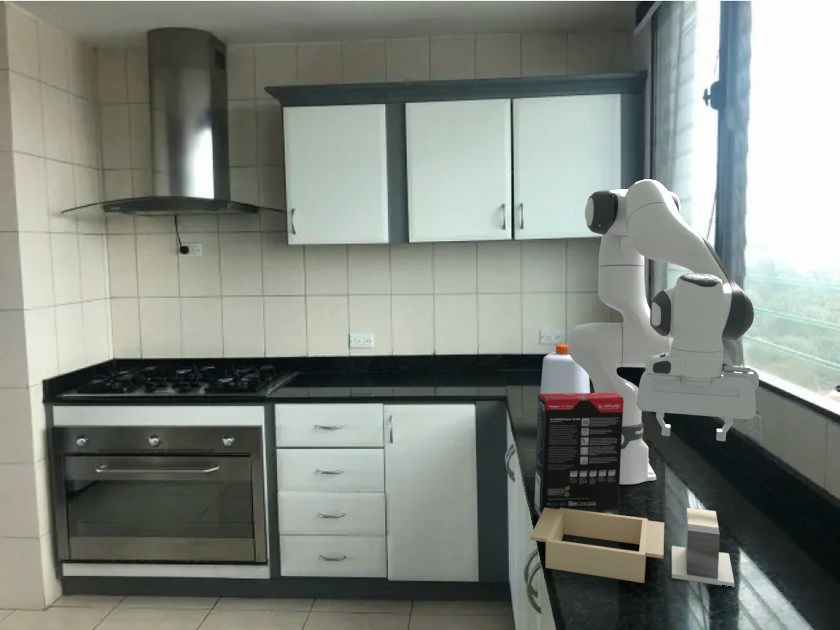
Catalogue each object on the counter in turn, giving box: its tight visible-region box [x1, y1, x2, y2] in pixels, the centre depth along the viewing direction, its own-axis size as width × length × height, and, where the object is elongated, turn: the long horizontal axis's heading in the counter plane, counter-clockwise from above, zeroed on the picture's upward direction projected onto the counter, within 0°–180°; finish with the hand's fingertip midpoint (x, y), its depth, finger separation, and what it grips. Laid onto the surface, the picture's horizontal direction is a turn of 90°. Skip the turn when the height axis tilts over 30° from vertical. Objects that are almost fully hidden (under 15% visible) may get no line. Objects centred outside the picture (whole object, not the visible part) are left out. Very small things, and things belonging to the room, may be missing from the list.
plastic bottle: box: [539, 343, 591, 394], centre depth 212 cm, size 15×15×28 cm
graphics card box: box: [533, 392, 624, 520], centre depth 146 cm, size 17×7×27 cm, turn 96°
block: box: [684, 507, 721, 579], centre depth 125 cm, size 11×5×8 cm, turn 160°
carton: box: [530, 508, 665, 584], centre depth 130 cm, size 17×23×5 cm
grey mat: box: [671, 545, 735, 588], centre depth 125 cm, size 12×10×1 cm
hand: (692, 437), depth 127 cm, fingers open, 8 cm apart
